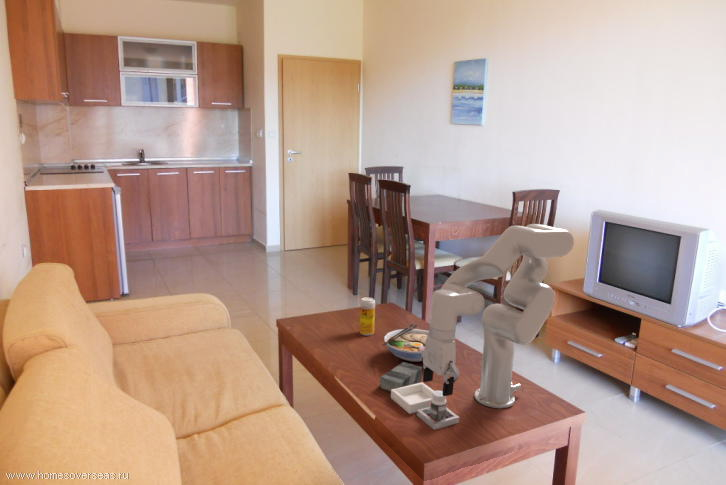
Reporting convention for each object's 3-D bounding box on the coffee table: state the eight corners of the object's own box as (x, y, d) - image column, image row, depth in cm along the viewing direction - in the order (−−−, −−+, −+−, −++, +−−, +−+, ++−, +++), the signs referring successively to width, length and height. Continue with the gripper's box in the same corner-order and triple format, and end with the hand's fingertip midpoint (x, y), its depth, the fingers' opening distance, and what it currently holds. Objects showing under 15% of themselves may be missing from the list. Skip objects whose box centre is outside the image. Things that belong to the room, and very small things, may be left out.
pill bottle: (426, 416, 166) (428, 391, 164) (440, 413, 168) (441, 388, 166) (434, 424, 162) (436, 398, 160) (448, 421, 164) (450, 395, 162)
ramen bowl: (424, 378, 191) (426, 356, 190) (369, 361, 204) (370, 340, 202) (455, 354, 212) (456, 334, 210) (403, 340, 224) (404, 321, 222)
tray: (421, 390, 182) (422, 382, 182) (441, 405, 173) (442, 396, 172) (390, 398, 177) (391, 389, 176) (409, 414, 167) (410, 405, 167)
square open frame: (440, 408, 171) (441, 403, 170) (458, 422, 163) (459, 417, 163) (416, 415, 167) (416, 409, 166) (434, 429, 159) (434, 424, 159)
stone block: (376, 389, 183) (377, 374, 182) (399, 374, 195) (400, 360, 194) (399, 397, 178) (400, 382, 177) (422, 381, 190) (422, 367, 189)
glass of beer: (357, 335, 229) (358, 300, 225) (362, 330, 234) (363, 296, 231) (371, 337, 227) (372, 302, 224) (375, 331, 233) (376, 297, 229)
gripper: (414, 324, 165) (410, 378, 168) (450, 345, 150) (444, 403, 153) (435, 321, 168) (430, 374, 171) (471, 341, 153) (466, 398, 157)
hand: (437, 387), depth 162 cm, fingers open, 9 cm apart
